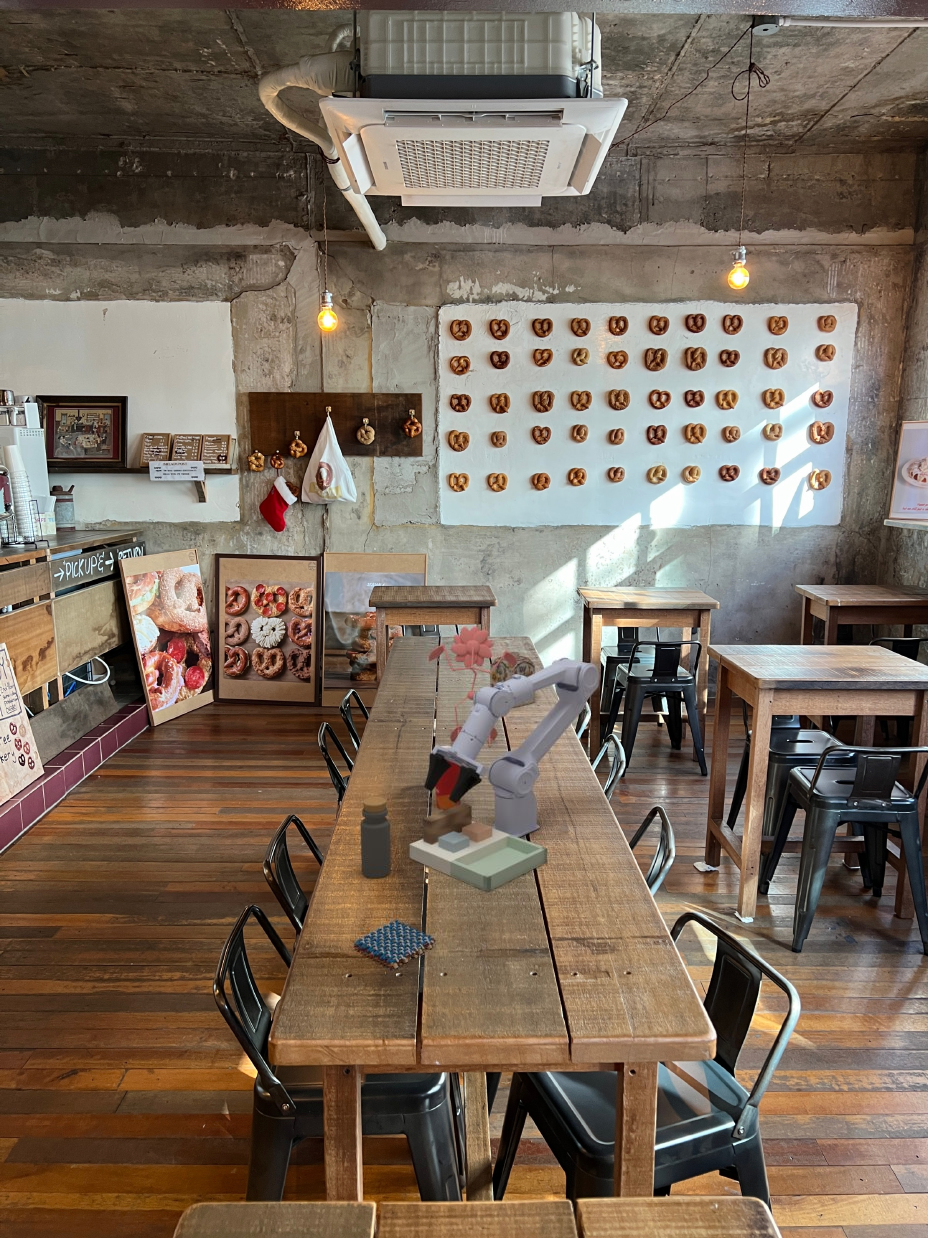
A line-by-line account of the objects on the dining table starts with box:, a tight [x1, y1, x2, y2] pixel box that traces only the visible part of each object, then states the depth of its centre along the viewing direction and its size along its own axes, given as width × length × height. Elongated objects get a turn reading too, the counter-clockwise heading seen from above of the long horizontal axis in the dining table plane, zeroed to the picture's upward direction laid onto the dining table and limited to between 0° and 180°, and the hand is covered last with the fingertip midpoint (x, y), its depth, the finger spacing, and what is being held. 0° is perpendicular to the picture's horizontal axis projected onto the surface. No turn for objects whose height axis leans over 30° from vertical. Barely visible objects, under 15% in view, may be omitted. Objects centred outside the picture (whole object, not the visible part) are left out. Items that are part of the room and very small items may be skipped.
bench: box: [409, 820, 510, 876], centre depth 183 cm, size 18×12×3 cm, turn 136°
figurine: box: [428, 626, 517, 748], centre depth 259 cm, size 15×26×35 cm, turn 94°
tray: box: [449, 835, 548, 893], centre depth 175 cm, size 18×10×3 cm, turn 136°
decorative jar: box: [489, 650, 536, 709], centre depth 304 cm, size 12×12×18 cm
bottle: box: [360, 796, 392, 879], centre depth 173 cm, size 6×6×15 cm
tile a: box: [462, 821, 492, 843], centre depth 184 cm, size 4×4×2 cm
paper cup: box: [434, 745, 463, 811], centre depth 209 cm, size 8×8×14 cm
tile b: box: [438, 831, 469, 853], centre depth 179 cm, size 4×4×2 cm
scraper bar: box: [422, 802, 473, 845], centre depth 185 cm, size 12×2×5 cm, turn 136°
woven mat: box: [353, 919, 436, 970], centre depth 147 cm, size 10×11×2 cm
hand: (439, 795), depth 181 cm, fingers open, 7 cm apart
